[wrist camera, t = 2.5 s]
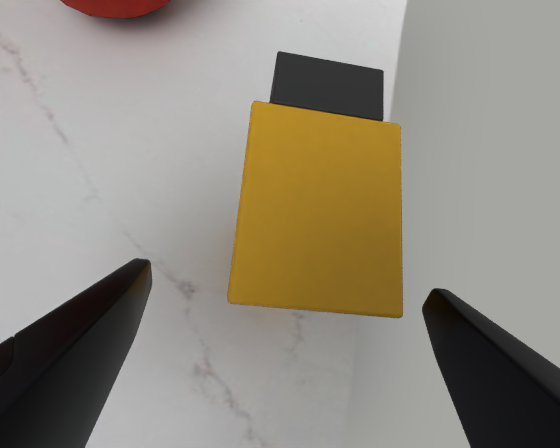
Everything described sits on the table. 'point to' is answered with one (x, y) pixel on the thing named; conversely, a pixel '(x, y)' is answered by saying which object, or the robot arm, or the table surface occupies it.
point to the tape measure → (320, 195)
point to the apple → (115, 7)
